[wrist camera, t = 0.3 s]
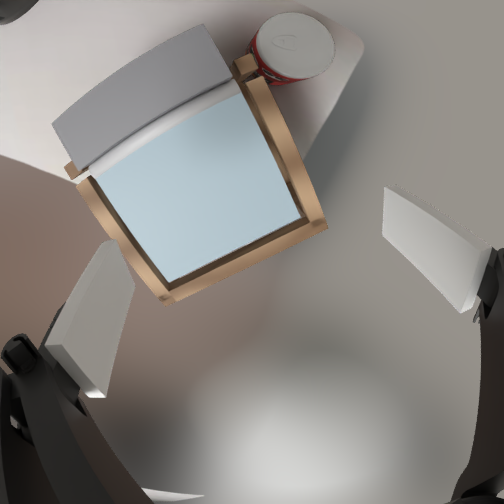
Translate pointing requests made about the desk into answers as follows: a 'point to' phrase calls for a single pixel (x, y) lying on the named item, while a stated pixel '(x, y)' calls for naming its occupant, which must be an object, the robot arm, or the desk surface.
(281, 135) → the frame
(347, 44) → the desk surface
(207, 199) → the trapdoor
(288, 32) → the canned food
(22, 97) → the desk surface
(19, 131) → the desk surface
